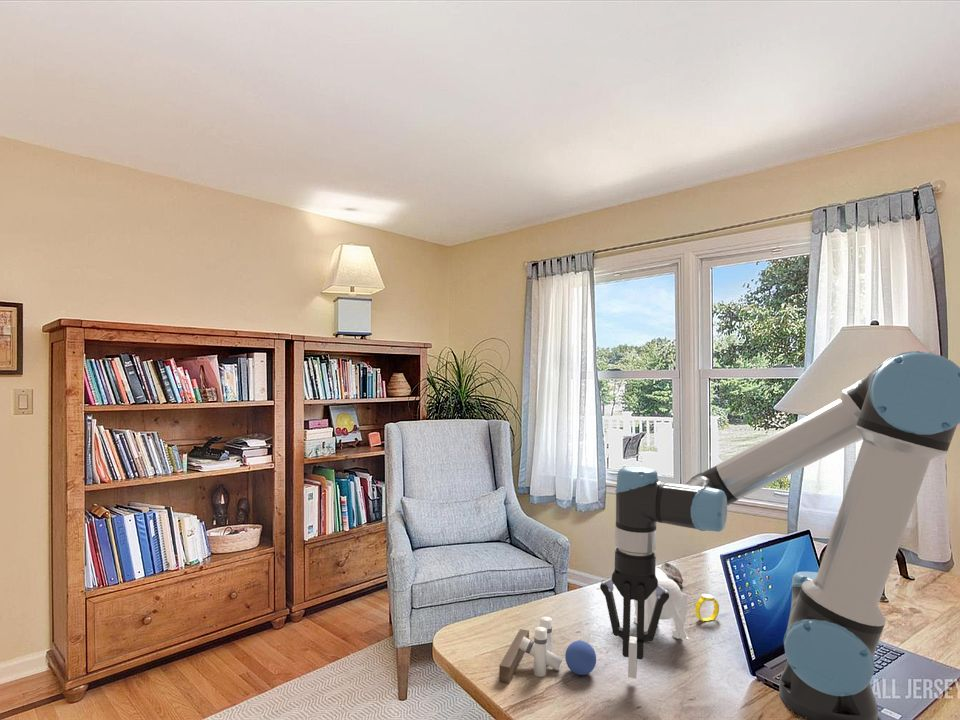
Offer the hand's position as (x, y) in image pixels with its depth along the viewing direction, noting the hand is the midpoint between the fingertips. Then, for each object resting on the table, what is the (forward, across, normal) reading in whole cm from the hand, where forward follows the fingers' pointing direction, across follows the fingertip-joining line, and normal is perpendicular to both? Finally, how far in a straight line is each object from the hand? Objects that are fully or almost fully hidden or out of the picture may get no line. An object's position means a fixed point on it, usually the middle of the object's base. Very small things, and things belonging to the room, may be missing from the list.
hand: (632, 674), depth 108 cm
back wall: (+2, +23, 0) cm, 23 cm away
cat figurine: (+2, -4, -24) cm, 24 cm away
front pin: (+1, +14, 0) cm, 14 cm away
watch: (+2, -16, -35) cm, 39 cm away
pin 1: (+2, +17, -2) cm, 18 cm away
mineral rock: (+2, -6, -55) cm, 55 cm away
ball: (-1, +10, 0) cm, 10 cm away
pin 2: (+2, +17, +2) cm, 18 cm away
